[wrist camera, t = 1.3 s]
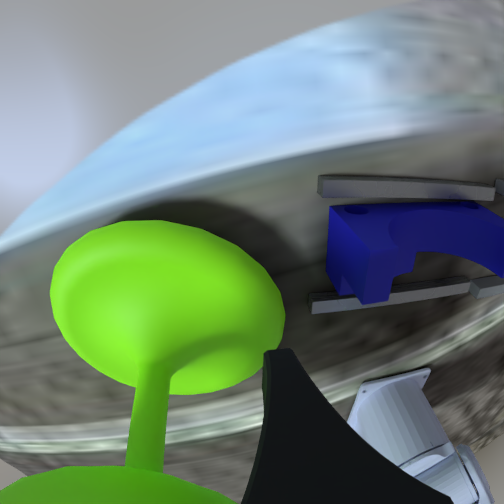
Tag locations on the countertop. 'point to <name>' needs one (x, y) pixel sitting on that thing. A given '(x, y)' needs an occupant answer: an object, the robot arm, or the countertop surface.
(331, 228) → the cable clip
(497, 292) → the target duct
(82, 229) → the countertop surface
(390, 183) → the pair of grey bars
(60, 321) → the wineglass
